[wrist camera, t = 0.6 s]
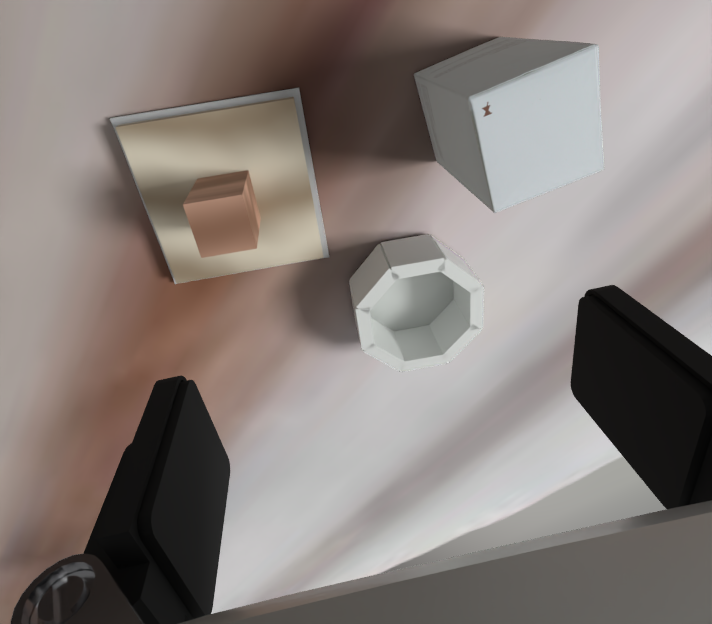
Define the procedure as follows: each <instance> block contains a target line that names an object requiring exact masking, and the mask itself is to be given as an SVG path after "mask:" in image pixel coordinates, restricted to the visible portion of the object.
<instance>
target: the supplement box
mask: <svg viewBox="0 0 712 624" xmlns="http://www.w3.org/2000/svg"><path fill="white" fill-rule="evenodd" d="M414 77H415V81H416V85H417V89H418V93H419V97H420V100H421V104H422V108H423V112H424V115H425V119H426V123H427V127H428V131H429V135H430V139H431V142H432V146H433V150H434V154H435V157H436V161H437V162H438V163H439V164H440V165H441V166H442V167H443V168H444V169H446V170H447V171H448V172H449V173H450V174H451V175H452V176H454V177H455V178H456V179H457V180H458V181H459V182H460V183H461V184H462V185H464V186H465V187H466V188H467V189H468V190H469V191H470V192H471V193H473V194H474V195H475V196H476V197H477V198H478V199H479V200H481V201H482V202H483V203H484V204H485V205H486V206H487V207H488V208H489V209H491V210H492V211H493V212H494V213H497V212H499V211H502V210H504V209H507V208H509V207H512V206H514V205H517V204H519V203H522V202H525V201H527V200H530V199H532V198H535V197H537V196H540V195H542V194H545V193H547V192H550V191H552V190H555V189H557V188H560V187H562V186H565V185H567V184H570V183H572V182H575V181H577V180H580V179H583V178H585V177H588V176H590V175H593V174H595V173H598V172H600V171H603V170H604V156H603V140H602V123H601V106H600V74H599V47H598V45H597V44H590V43H580V42H568V41H552V40H536V39H522V38H510V37H499V38H496V39H494V40H491V41H489V42H486V43H484V44H481V45H479V46H477V47H474V48H472V49H470V50H467V51H465V52H463V53H460V54H458V55H456V56H453V57H451V58H449V59H446V60H444V61H442V62H439V63H437V64H435V65H433V66H430V67H428V68H426V69H423V70H421V71H419V72H416V73H414Z"/></svg>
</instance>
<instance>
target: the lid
mask: <svg viewBox="0 0 712 624" xmlns="http://www.w3.org/2000/svg"><path fill="white" fill-rule="evenodd" d="M115 128H116V131H117V133H118V136H119V138H120V141H121V143H122V146H123V149H124V151H125V154H126V156H127V159H128V161H129V164H130V166H131V169H132V171H133V174H134V177H135V179H136V182H137V184H138V187H139V189H140V192H141V194H142V197H143V199H144V202H145V205H146V207H147V210H148V212H149V215H150V217H151V220H152V222H153V225H154V228H155V230H156V233H157V235H158V238H159V240H160V243H161V245H162V248H163V250H164V253H165V256H166V258H167V261H168V263H169V266H170V268H171V271H172V273H173V276H174V278H175V281H176V283H182V282H188V281H193V280H199V279H205V278H211V277H216V276H222V275H228V274H234V273H239V272H245V271H251V270H256V269H262V268H268V267H274V266H279V265H285V264H291V263H297V262H302V261H308V260H314V259H319V258H324V257H323V251H322V246H321V240H320V235H319V229H318V224H317V219H316V213H315V208H314V203H313V197H312V192H311V186H310V181H309V176H308V170H307V165H306V160H305V154H304V149H303V144H302V138H301V133H300V127H299V122H298V117H297V111H296V106H295V101H294V97H288V98H282V99H276V100H269V101H263V102H257V103H251V104H245V105H238V106H232V107H226V108H220V109H214V110H207V111H201V112H195V113H189V114H183V115H176V116H170V117H164V118H158V119H152V120H145V121H139V122H133V123H127V124H121V125H118V126H117V127H115Z"/></svg>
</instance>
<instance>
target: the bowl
mask: <svg viewBox="0 0 712 624" xmlns="http://www.w3.org/2000/svg"><path fill="white" fill-rule="evenodd" d="M349 280H350V281H349V286H350V292H351V299H352V305H353V311H354V317H355V323H356V327H357V331H358V336H359V340H360V344H361V349H362V350H363V352H364V353H366V354H368V355H370V356H371V357H373V358H375V359H377V360H379V361H381V362H382V363H384V364H386V365H388V366H390V367H392V368H393V369H395V370H397V371H399V372H400V371H402V372H405V371H411V370H416V369H422V368H427V367H432V366H438V365H443V364H447V361H448V362H449V363H450V362H451V361H452V360H453V359H454V358H455V357H456V356H457V355H458V354H459V353H460V352H461V351H462V350H463V349H464V348H465V347H466V346H467V345H468V344H469V343H470V342H471V341H472V340H473V339H474V338H475V337H476V336H477V335H478V334H479V333H480V332H481V331H482V329H481V328H483V313H484V286H483V284H482V282H481V281H480V280H479V278H478V277H477V276H476V274H475V273H474V271H473V270H472V269H471V267H470V266H469V265H468V263H467V262H466V261H465V259H463V258H462V257H461V256H459V255H458V254H457V253H455V252H454V251H453V250H451V249H450V248H448V247H447V246H446V245H444V244H443V243H442V242H440V241H439V240H438V239H436V238H435V237H434V236H432V235H429V234H426V235H420V236H414V237H409V238H403V239H397V240H391V241H386V242H381V245H380V244H378V245H377V246H376V247H375V249H374V250H373V251H372V252H371V254H370V255H369V256H368V257H367V259H366V260H365V261H364V262H363V263H362V265H361V266H360V267H359V268H358V270H357V271H356V272H355V273H354V274H353V276H352V277H351V278H350V279H349Z"/></svg>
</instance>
